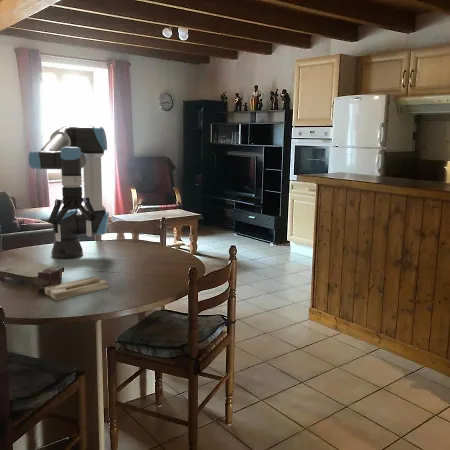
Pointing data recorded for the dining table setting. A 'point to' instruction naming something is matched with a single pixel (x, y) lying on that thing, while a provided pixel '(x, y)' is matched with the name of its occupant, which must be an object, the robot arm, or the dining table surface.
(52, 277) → the box
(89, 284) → the board
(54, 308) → the dining table surface
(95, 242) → the dining table surface
